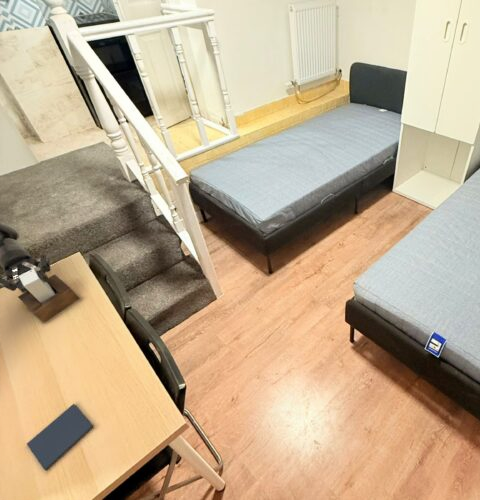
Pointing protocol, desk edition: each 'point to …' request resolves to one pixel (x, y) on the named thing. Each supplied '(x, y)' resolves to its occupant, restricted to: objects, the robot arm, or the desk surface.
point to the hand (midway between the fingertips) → (35, 284)
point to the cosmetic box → (37, 286)
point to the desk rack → (50, 300)
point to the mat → (59, 436)
